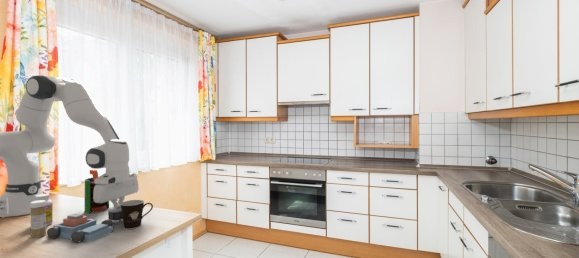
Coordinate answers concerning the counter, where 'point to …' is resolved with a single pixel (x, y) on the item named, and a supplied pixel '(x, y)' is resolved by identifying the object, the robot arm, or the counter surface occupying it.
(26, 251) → the counter surface
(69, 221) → the block
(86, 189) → the motor
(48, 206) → the supplement bottle
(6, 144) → the robot arm
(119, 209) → the wheel
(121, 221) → the axle mount
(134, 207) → the coffee mug
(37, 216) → the sprinkles bottle
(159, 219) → the counter surface
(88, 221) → the chassis
